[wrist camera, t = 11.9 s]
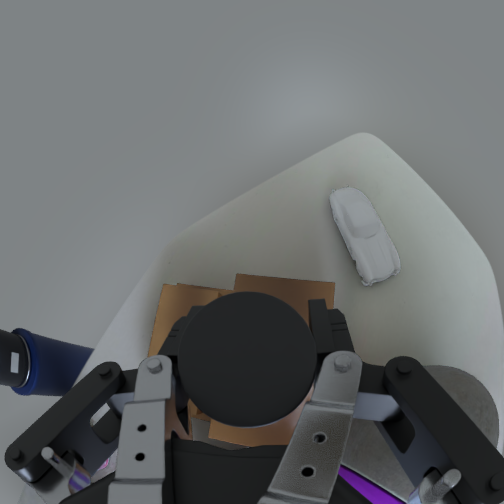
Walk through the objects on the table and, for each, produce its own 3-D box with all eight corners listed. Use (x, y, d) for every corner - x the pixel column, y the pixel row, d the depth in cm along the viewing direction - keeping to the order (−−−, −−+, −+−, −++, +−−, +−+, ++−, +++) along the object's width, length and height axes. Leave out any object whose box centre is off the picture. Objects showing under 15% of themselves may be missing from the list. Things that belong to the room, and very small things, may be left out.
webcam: (299, 433, 23) (299, 494, 10) (389, 343, 26) (465, 312, 12) (379, 499, 18) (427, 570, 5) (460, 412, 20) (552, 422, 7)
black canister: (230, 393, 16) (166, 410, 8) (242, 326, 18) (190, 283, 9) (302, 404, 15) (305, 437, 7) (312, 334, 17) (324, 297, 9)
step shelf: (157, 404, 27) (101, 411, 18) (180, 285, 32) (136, 250, 23) (305, 435, 23) (308, 467, 14) (324, 302, 28) (336, 268, 19)
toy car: (362, 290, 28) (369, 280, 25) (321, 199, 33) (322, 181, 30) (400, 274, 28) (410, 263, 25) (356, 188, 33) (360, 170, 30)
